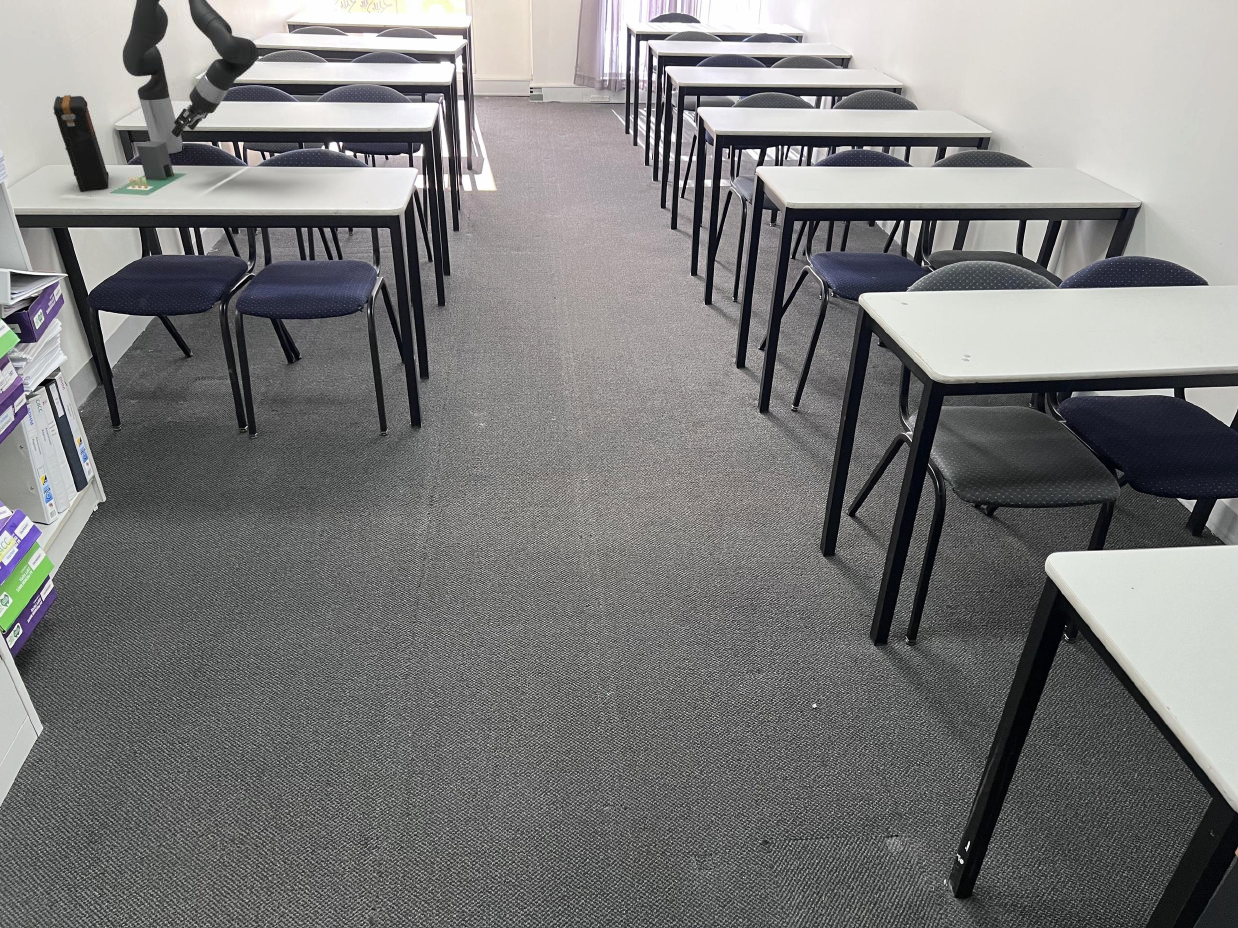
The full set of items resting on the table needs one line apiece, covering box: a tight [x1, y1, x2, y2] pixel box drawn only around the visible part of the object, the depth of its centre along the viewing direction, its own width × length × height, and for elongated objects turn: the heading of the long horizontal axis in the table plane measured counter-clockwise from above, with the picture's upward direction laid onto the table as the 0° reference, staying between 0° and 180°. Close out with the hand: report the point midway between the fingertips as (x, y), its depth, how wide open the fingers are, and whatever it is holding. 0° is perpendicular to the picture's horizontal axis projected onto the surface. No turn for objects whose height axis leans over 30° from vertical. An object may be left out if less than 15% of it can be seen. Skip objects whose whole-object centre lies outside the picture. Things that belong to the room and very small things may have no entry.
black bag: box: [52, 94, 110, 193], centre depth 264 cm, size 16×9×25 cm, turn 25°
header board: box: [109, 172, 187, 196], centre depth 271 cm, size 22×12×4 cm, turn 173°
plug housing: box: [136, 140, 175, 180], centre depth 274 cm, size 6×6×10 cm
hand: (182, 131), depth 268 cm, fingers open, 8 cm apart
